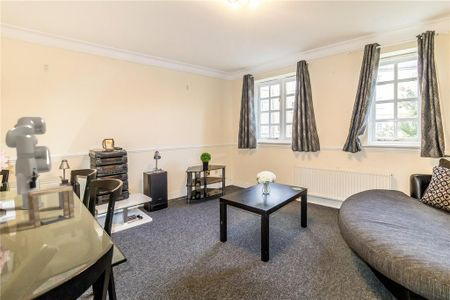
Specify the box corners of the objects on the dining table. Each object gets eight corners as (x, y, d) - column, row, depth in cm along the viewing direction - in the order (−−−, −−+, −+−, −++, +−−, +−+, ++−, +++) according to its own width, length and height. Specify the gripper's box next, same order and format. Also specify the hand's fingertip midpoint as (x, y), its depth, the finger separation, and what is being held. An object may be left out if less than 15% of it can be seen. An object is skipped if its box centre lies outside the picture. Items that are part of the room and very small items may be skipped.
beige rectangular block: (74, 206, 157) (72, 179, 156) (62, 209, 152) (60, 181, 151) (71, 204, 162) (69, 178, 161) (59, 207, 157) (57, 180, 156)
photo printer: (37, 190, 142) (36, 170, 141) (41, 191, 140) (39, 170, 139) (15, 194, 133) (14, 172, 132) (19, 195, 131) (17, 173, 130)
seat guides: (38, 222, 129) (38, 219, 129) (60, 216, 137) (60, 214, 137) (44, 225, 124) (43, 222, 124) (66, 219, 133) (66, 216, 133)
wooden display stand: (29, 224, 126) (26, 191, 125) (67, 214, 141) (65, 185, 140) (35, 227, 121) (32, 193, 120) (74, 217, 136) (72, 186, 134)
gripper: (5, 157, 133) (8, 189, 134) (32, 157, 130) (35, 189, 131) (19, 156, 140) (22, 186, 141) (44, 155, 137) (47, 186, 139)
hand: (28, 187), depth 136 cm, fingers closed on photo printer, 5 cm apart
